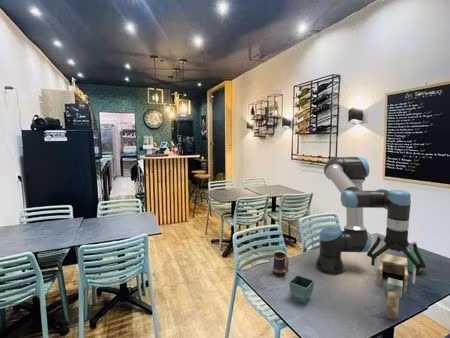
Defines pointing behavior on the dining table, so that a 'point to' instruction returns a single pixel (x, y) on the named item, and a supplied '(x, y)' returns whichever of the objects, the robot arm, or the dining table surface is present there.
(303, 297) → the flower pot
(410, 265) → the mug
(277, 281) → the dining table surface
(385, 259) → the tan wooden arch
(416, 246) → the robot arm
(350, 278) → the dining table surface
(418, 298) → the dining table surface
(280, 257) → the mug
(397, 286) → the tethered block
